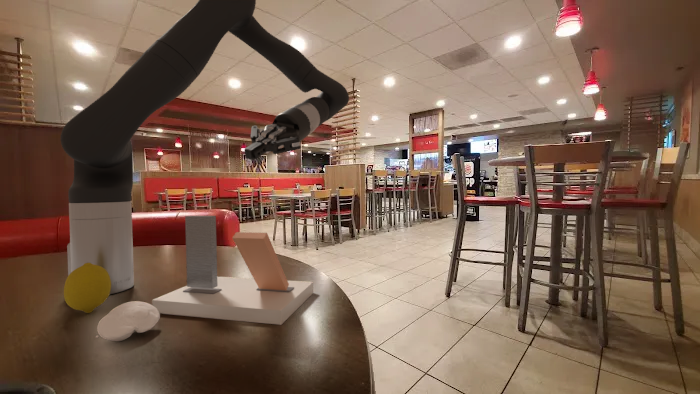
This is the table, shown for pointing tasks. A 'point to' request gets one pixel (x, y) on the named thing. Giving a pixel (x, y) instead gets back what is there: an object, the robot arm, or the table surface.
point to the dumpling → (127, 320)
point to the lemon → (87, 287)
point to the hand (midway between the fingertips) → (248, 155)
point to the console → (236, 301)
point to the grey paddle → (201, 251)
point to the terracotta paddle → (261, 260)
